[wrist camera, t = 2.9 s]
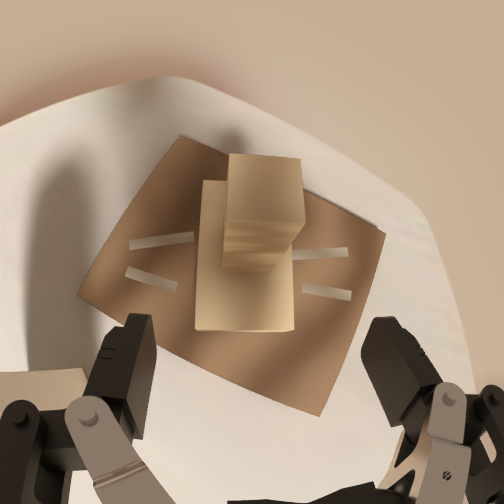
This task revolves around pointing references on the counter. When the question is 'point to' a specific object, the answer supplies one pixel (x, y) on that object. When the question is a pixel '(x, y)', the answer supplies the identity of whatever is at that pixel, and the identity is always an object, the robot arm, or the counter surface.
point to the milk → (42, 388)
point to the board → (185, 277)
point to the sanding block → (249, 246)
